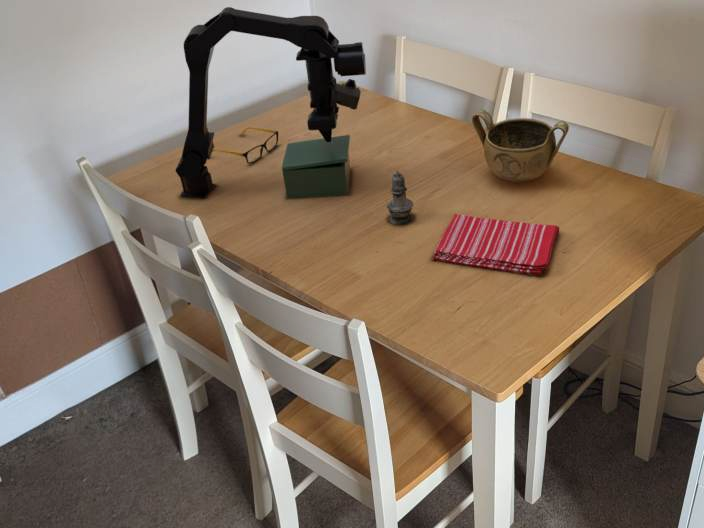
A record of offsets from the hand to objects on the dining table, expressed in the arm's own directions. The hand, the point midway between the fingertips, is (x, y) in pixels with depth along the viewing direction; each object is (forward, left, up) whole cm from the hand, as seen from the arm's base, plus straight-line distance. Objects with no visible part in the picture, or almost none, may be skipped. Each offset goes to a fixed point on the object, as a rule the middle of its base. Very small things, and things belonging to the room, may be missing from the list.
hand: (328, 141), depth 188 cm
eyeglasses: (-29, +13, -11) cm, 34 cm away
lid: (-3, -1, -3) cm, 4 cm away
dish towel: (+44, -22, -11) cm, 50 cm away
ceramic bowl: (+43, +10, -11) cm, 46 cm away
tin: (-3, -1, -11) cm, 11 cm away
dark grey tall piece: (+21, -14, -11) cm, 27 cm away
